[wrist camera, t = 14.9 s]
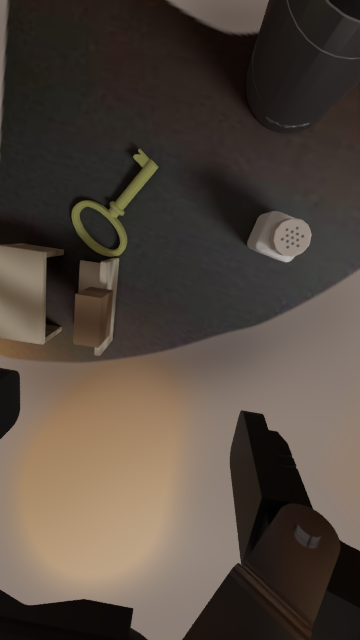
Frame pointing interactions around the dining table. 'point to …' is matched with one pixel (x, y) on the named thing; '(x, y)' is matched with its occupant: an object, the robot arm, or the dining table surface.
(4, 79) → the dining table surface
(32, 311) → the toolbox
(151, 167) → the key
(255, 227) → the salt shaker
